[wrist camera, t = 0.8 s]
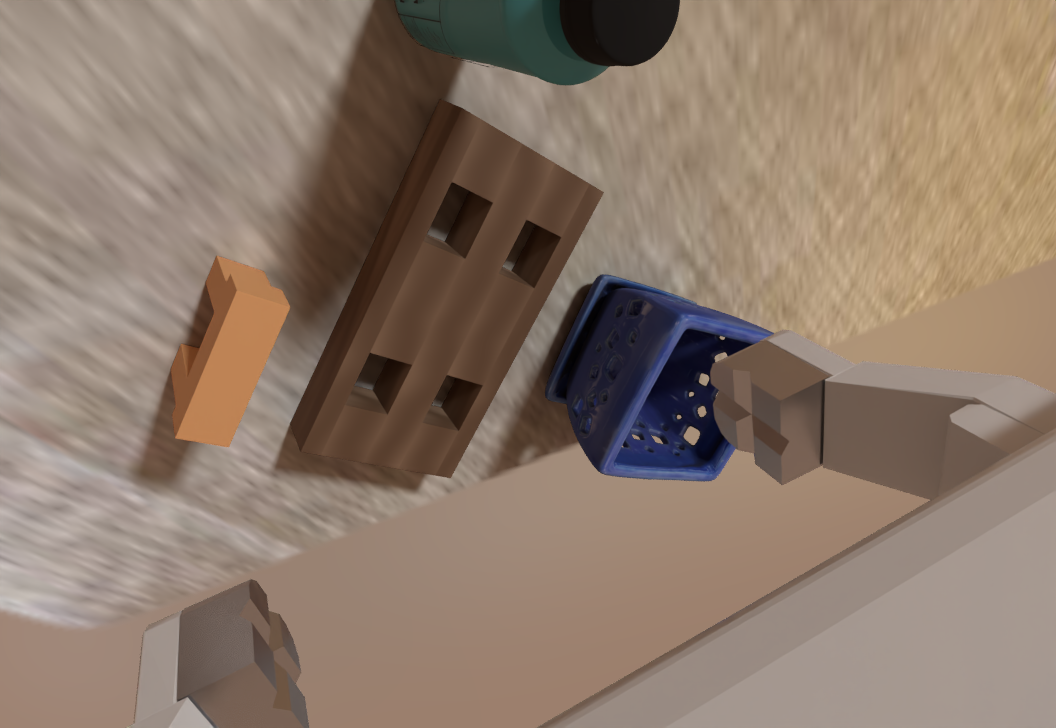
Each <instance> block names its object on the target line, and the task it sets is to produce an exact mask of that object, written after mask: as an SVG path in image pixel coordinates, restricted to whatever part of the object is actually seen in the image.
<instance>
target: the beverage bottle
mask: <svg viewBox="0 0 1056 728" xmlns="http://www.w3.org/2000/svg"><path fill="white" fill-rule="evenodd" d="M394 1H396V4H395V6H396V5H397V8H396V10H397V9H398V12H399V13H398V12H397V13H398V15H400V17H401V19H402V21H403V23H404V25H405V26H406V28H407V30H408V31H409V33H410V34H411V35H412V36H413V38H415V39H416V40H417V41H418V42H419V43H421V44H422V45H423V46H424V47H427V48H428V49H431V50H433V51H435V52H439V53H443V54H447V55H451V56H455V57H459V58H463V59H467V60H471V61H467V62H471V63H472V62H473V61H476V62H480V63H486V64H491V65H494V66H498V67H502V68H505V69H509V70H513V71H516V72H520V73H524V74H527V75H531V76H535V77H538V78H540V79H542V80H544V81H546V82H550V83H553V84H557V85H575V84H580V83H583V82H586V81H589V80H591V79H593V78H594V77H596V76H598V75H599V74H601V73H602V72H604V71H605V70H606V69H607V68H608V67H609V66H634V65H638V64H641V63H643V62H646V61H647V60H649V59H651V58H652V57H653V56H655V55H656V54H657V53H658V52H659V51H660V50H661V49H662V48H663V47H664V45H665V44H666V42H667V41H668V39H669V37H670V36H671V34H672V31H673V29H674V27H675V24H676V21H677V17H678V12H679V5H680V0H394ZM400 17H399V18H400ZM401 19H400V20H401ZM402 21H401V22H402ZM404 28H405V27H404ZM407 30H406V31H407ZM407 33H408V32H407ZM409 33H408V34H409ZM411 38H412V37H411ZM413 38H412V39H413ZM417 44H418V43H417ZM422 45H421V46H422ZM451 58H453V57H451ZM455 59H456V58H455ZM459 60H460V59H459ZM463 61H464V60H463ZM475 64H476V63H475ZM479 65H480V64H479ZM482 66H484V65H482ZM487 67H488V66H487Z"/></svg>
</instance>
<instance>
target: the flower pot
mask: <svg viewBox="0 0 1056 728" xmlns="http://www.w3.org/2000/svg"><path fill="white" fill-rule="evenodd" d="M773 334H775V333H772V332H770V331H768V330H766V329H764V328H761V327H759V326H757V325H754V324H752V323H749V322H747V321H744V320H742V319H739V318H737V317H734V316H731V315H728V314H725V313H722V312H719V311H716V310H713V309H710V308H706V307H702V306H699V305H697V303H695V302H693V301H691V300H688V299H685V298H682V297H679V296H677V295H674V294H671V293H668V292H665V291H662V290H659V289H656V288H653V287H649V286H646V285H643V284H640V283H636V282H632V281H629V280H625V279H622V278H619V277H615V276H611V275H600V276H598V277H597V278H596V279H595V281H594V283H593V285H592V287H591V288H590V291H589V293H588V295H587V297H586V299H585V301H584V303H583V305H582V307H581V309H580V311H579V313H578V316H577V318H576V320H575V322H574V324H573V326H572V328H571V330H570V333H569V335H568V337H567V339H566V341H565V344H564V346H563V348H562V350H561V352H560V355H559V357H558V359H557V361H556V364H555V366H554V368H553V370H552V373H551V375H550V377H549V380H548V382H547V385H546V389H545V396H546V398H547V399H548V400H550V401H554V402H559V403H564V404H567V408H568V414H569V418H570V421H571V424H572V427H573V430H574V433H575V435H576V437H577V439H578V441H579V443H580V445H581V447H582V449H583V450H584V452H585V454H586V456H587V457H588V459H589V460H590V462H591V463H592V465H593V466H594V467H595V468H596V469H597V470H598V471H599V472H600V473H602V474H605V475H610V476H617V477H627V478H640V479H659V480H684V481H712V480H714V479H716V478H717V476H718V475H719V474H720V472H721V471H722V469H723V468H724V466H725V464H726V463H727V461H728V460H729V458H730V457H731V455H732V453H733V452H734V450H735V449H736V448H735V447H734V446H733V445H732V444H730V443H729V442H728V441H727V439H726V438H725V437H724V436H723V434H722V433H721V431H720V429H719V427H718V425H717V423H716V420H715V416H714V409H713V403H714V401H715V398H716V395H717V393H718V391H719V390H718V389H717V388H716V387H714V386H713V385H712V384H711V376H710V371H711V368H712V365H713V364H714V363H716V362H715V359H714V358H715V356H716V355H718V354H720V353H723V352H726V354H727V356H730V355H732V354H735V353H737V352H739V351H741V350H743V349H745V348H747V347H749V346H751V345H754V344H756V343H758V342H759V341H760V340H762V339H764V338H766V337H769V336H771V335H773ZM720 336H723V337H725V339H724V340H721V339H720ZM701 373H703V374H706V375H708V376H709V382H708V384H707V386H704V385H702V384H700V383H699V378H700V375H701ZM690 392H694V396H691V397H689V393H690ZM701 406H705V408H706V412H707V413H706V415H705V416H704V417H700V416H699V414H698V411H697V410H698V408H699V407H701ZM677 415H681V417H682V418H681V419H677ZM590 424H591V425H590ZM689 426H692V427H694V428H696V429H698V430H699V431H700V436H699V439H698V441H697V443H696V444H695V445H691V444H690V443H689V442H688V441H686V440H685V439H684V437H683V436H684V434H685V432H686V430H687V429H688V427H689ZM632 434H634V435H636V436H638V437H639V438H640V440H637V439H634V438H633V436H632ZM651 435H652V436H656V437H658V438H660V439H661V441H662V442H663V444H660V443H656V442H655V441H654V439H653V438H652V436H651ZM622 445H623V447H622Z"/></svg>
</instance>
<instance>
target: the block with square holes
mask: <svg viewBox="0 0 1056 728" xmlns="http://www.w3.org/2000/svg"><path fill="white" fill-rule="evenodd" d="M452 182H453V183H455V184H457V185H459V186H461V187H463V188H465V189H467V190H469V191H470V192H469V194H468V196H467V198H466V200H465V202H464V204H463V206H462V208H461V210H460V212H459V214H458V216H457V218H456V220H455V223H454V225H453V227H452V229H451V231H450V233H449V235H448V237H447V239H446V241H445V242H444V241H441V240H439V239H437V238H434V237H432V236H430V235H427V233H428V230H429V228H430V226H431V224H432V222H433V220H434V218H435V216H436V214H437V212H438V210H439V208H440V205H441V203H442V201H443V199H444V197H445V195H446V193H447V191H448V189H449V187H450V185H451V183H452ZM603 193H604V192H602V191H601V190H599V189H597V188H596V187H594V186H592V185H591V184H589V183H587V182H586V181H584V180H582V179H581V178H579V177H577V176H575V175H574V174H572V173H570V172H569V171H567V170H565V169H564V168H562V167H560V166H559V165H557V164H555V163H554V162H552V161H550V160H549V159H547V158H545V157H544V156H542V155H540V154H538V153H537V152H535V151H533V150H532V149H530V148H528V147H527V146H525V145H523V144H522V143H520V142H518V141H517V140H515V139H513V138H512V137H510V136H508V135H507V134H505V133H503V132H501V131H500V130H498V129H496V128H495V127H493V126H491V125H490V124H488V123H486V122H485V121H483V120H481V119H480V118H478V117H476V116H475V115H473V114H471V113H470V112H468V111H466V110H464V109H463V108H461V107H458V106H456V105H453V104H451V103H448V102H446V101H444V100H441V99H440V100H439V102H438V105H437V107H436V109H435V111H434V113H433V115H432V118H431V120H430V122H429V124H428V126H427V128H426V131H425V133H424V135H423V137H422V139H421V141H420V144H419V146H418V148H417V150H416V152H415V154H414V157H413V159H412V161H411V163H410V165H409V167H408V170H407V172H406V174H405V176H404V178H403V180H402V183H401V185H400V187H399V189H398V191H397V193H396V196H395V198H394V200H393V202H392V204H391V206H390V209H389V211H388V213H387V215H386V217H385V219H384V222H383V224H382V226H381V228H380V230H379V233H378V235H377V237H376V239H375V241H374V243H373V246H372V248H371V250H370V252H369V254H368V256H367V259H366V261H365V263H364V265H363V267H362V269H361V272H360V274H359V276H358V278H357V280H356V282H355V285H354V287H353V289H352V291H351V293H350V295H349V298H348V300H347V302H346V304H345V306H344V308H343V311H342V313H341V315H340V317H339V319H338V321H337V324H336V326H335V328H334V330H333V332H332V334H331V337H330V339H329V341H328V343H327V345H326V347H325V350H324V352H323V354H322V356H321V358H320V360H319V363H318V365H317V367H316V369H315V371H314V373H313V376H312V378H311V380H310V382H309V384H308V387H307V389H306V391H305V393H304V395H303V397H302V400H301V402H300V404H299V406H298V408H297V410H296V413H295V415H294V417H293V419H292V421H291V423H290V425H291V428H292V430H293V433H294V436H295V438H296V441H297V443H298V446H299V449H300V451H301V452H304V453H310V454H316V455H322V456H327V457H333V458H339V459H344V460H350V461H356V462H362V463H367V464H373V465H379V466H384V467H390V468H396V469H402V470H407V471H413V472H419V473H425V474H430V475H436V476H442V477H447V478H451V476H452V474H453V473H454V471H455V469H456V467H457V465H458V463H459V461H460V460H461V458H462V456H463V454H464V452H465V450H466V448H467V447H468V445H469V443H470V441H471V439H472V437H473V435H474V433H475V432H476V430H477V428H478V426H479V424H480V422H481V420H482V419H483V417H484V415H485V413H486V411H487V409H488V407H489V406H490V404H491V402H492V400H493V398H494V396H495V394H496V392H497V391H498V389H499V387H500V385H501V383H502V381H503V379H504V378H505V376H506V374H507V372H508V370H509V368H510V366H511V365H512V363H513V361H514V359H515V357H516V355H517V353H518V351H519V350H520V348H521V346H522V344H523V342H524V340H525V338H526V337H527V335H528V333H529V331H530V329H531V327H532V325H533V324H534V322H535V320H536V318H537V316H538V314H539V312H540V311H541V309H542V307H543V305H544V303H545V301H546V299H547V297H548V296H549V294H550V292H551V290H552V288H553V286H554V284H555V283H556V281H557V279H558V277H559V275H560V273H561V271H562V270H563V268H564V266H565V264H566V262H567V260H568V258H569V256H570V255H571V253H572V251H573V249H574V247H575V245H576V243H577V242H578V240H579V238H580V236H581V234H582V232H583V230H584V229H585V227H586V225H587V223H588V221H589V219H590V217H591V215H592V214H593V212H594V210H595V208H596V206H597V204H598V202H599V201H600V199H601V197H602V195H603ZM526 220H528V221H530V222H532V223H534V224H536V226H535V228H534V229H533V231H532V233H531V235H530V237H529V239H528V241H527V243H526V245H525V247H524V249H523V251H522V253H521V255H520V256H519V258H518V260H517V262H516V264H515V266H514V268H513V270H512V271H510V270H508V269H506V268H503V267H502V266H503V264H504V263H505V261H506V259H507V257H508V255H509V253H510V251H511V249H512V247H513V245H514V243H515V241H516V239H517V237H518V235H519V233H520V231H521V229H522V227H523V226H524V224H525V222H526ZM370 353H373V354H376V355H379V356H383V357H386V358H388V360H387V362H386V364H385V366H384V368H383V370H382V372H381V374H380V376H379V378H378V380H377V383H376V385H375V387H374V389H373V390H369V389H365V388H361V387H357V386H354V385H355V383H356V381H357V379H358V377H359V374H360V372H361V370H362V368H363V366H364V364H365V362H366V360H367V358H368V356H369V354H370ZM446 375H449V376H452V377H456V380H455V382H454V384H453V386H452V388H451V390H450V392H449V394H448V396H447V397H446V399H445V401H444V403H443V405H442V407H437V406H433V405H432V403H433V401H434V399H435V397H436V395H437V393H438V391H439V389H440V387H441V385H442V383H443V381H444V379H445V377H446Z"/></svg>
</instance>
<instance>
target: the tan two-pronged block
mask: <svg viewBox="0 0 1056 728" xmlns="http://www.w3.org/2000/svg"><path fill="white" fill-rule="evenodd" d="M206 285H207V289H208V292H209V296H210V299H211V303H212V306H213V310H214V314H213V317H212V319H211V322H210V324H209V327H208V329H207V331H206V334H205V336H204V339H203V341H202V344H201V346H200V348H196V347H192V346H188V345H184V344H181V345H180V347H179V350H178V352H177V355H176V357H175V360H174V362H173V365H172V367H171V374H172V381H173V389H174V396H175V403H176V407H175V409H174V411H173V414H172V417H173V425H174V433H175V438H176V439H182V440H188V441H194V442H200V443H206V444H212V445H218V446H224V447H229V446H230V443H231V441H232V439H233V436H234V434H235V432H236V430H237V427H238V425H239V423H240V421H241V418H242V416H243V414H244V411H245V409H246V407H247V405H248V402H249V400H250V398H251V396H252V393H253V391H254V389H255V387H256V384H257V382H258V380H259V377H260V375H261V373H262V371H263V368H264V366H265V364H266V362H267V359H268V357H269V355H270V352H271V350H272V348H273V346H274V343H275V341H276V339H277V337H278V334H279V332H280V330H281V328H282V325H283V323H284V321H285V318H286V316H287V314H288V312H289V309H290V305H289V303H288V301H287V299H286V297H285V296H284V294H283V292H282V290H281V289H277V288H274V287H271V285H270V283H269V281H268V279H267V277H266V275H265V273H264V271H261V270H258V269H255V268H252V267H249V266H246V265H243V264H240V263H237V262H234V261H231V260H228V259H225V258H222V257H219V256H216V258H215V261H214V263H213V266H212V268H211V271H210V273H209V276H208V278H207V281H206Z"/></svg>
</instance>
